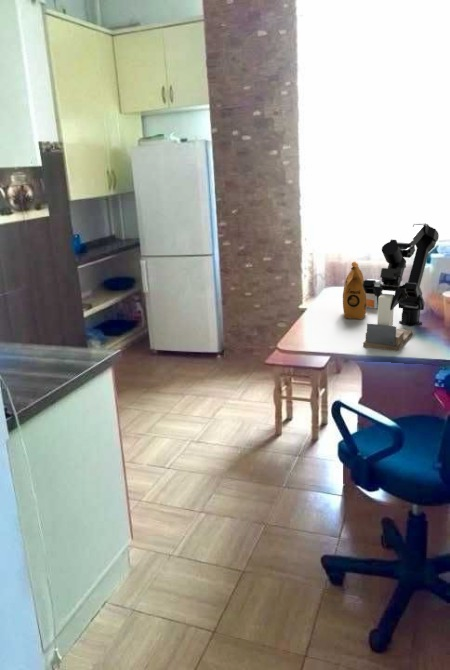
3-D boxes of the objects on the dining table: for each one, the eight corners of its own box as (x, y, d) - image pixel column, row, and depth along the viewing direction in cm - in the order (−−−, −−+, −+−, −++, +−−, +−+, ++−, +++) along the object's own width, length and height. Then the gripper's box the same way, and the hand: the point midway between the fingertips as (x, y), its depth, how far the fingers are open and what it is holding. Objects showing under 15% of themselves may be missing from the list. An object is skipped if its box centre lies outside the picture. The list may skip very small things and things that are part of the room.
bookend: (367, 341, 196) (367, 323, 194) (395, 345, 191) (396, 326, 189) (366, 342, 196) (367, 323, 194) (394, 346, 191) (395, 326, 189)
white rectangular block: (381, 323, 198) (382, 293, 195) (392, 324, 196) (394, 294, 193) (377, 327, 194) (378, 296, 191) (388, 328, 192) (390, 298, 189)
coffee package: (340, 319, 230) (341, 266, 223) (343, 311, 241) (344, 261, 234) (365, 320, 227) (366, 267, 220) (366, 311, 238) (368, 261, 231)
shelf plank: (380, 330, 212) (380, 319, 211) (412, 334, 206) (413, 323, 205) (363, 346, 197) (363, 334, 195) (397, 351, 190) (397, 338, 189)
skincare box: (362, 306, 246) (363, 280, 243) (367, 304, 249) (368, 278, 245) (374, 308, 242) (375, 282, 238) (379, 306, 245) (381, 280, 241)
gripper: (364, 257, 196) (353, 294, 191) (418, 259, 186) (408, 299, 181) (371, 274, 205) (360, 310, 199) (423, 278, 195) (413, 316, 190)
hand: (384, 308), depth 192 cm, fingers closed on white rectangular block, 4 cm apart
